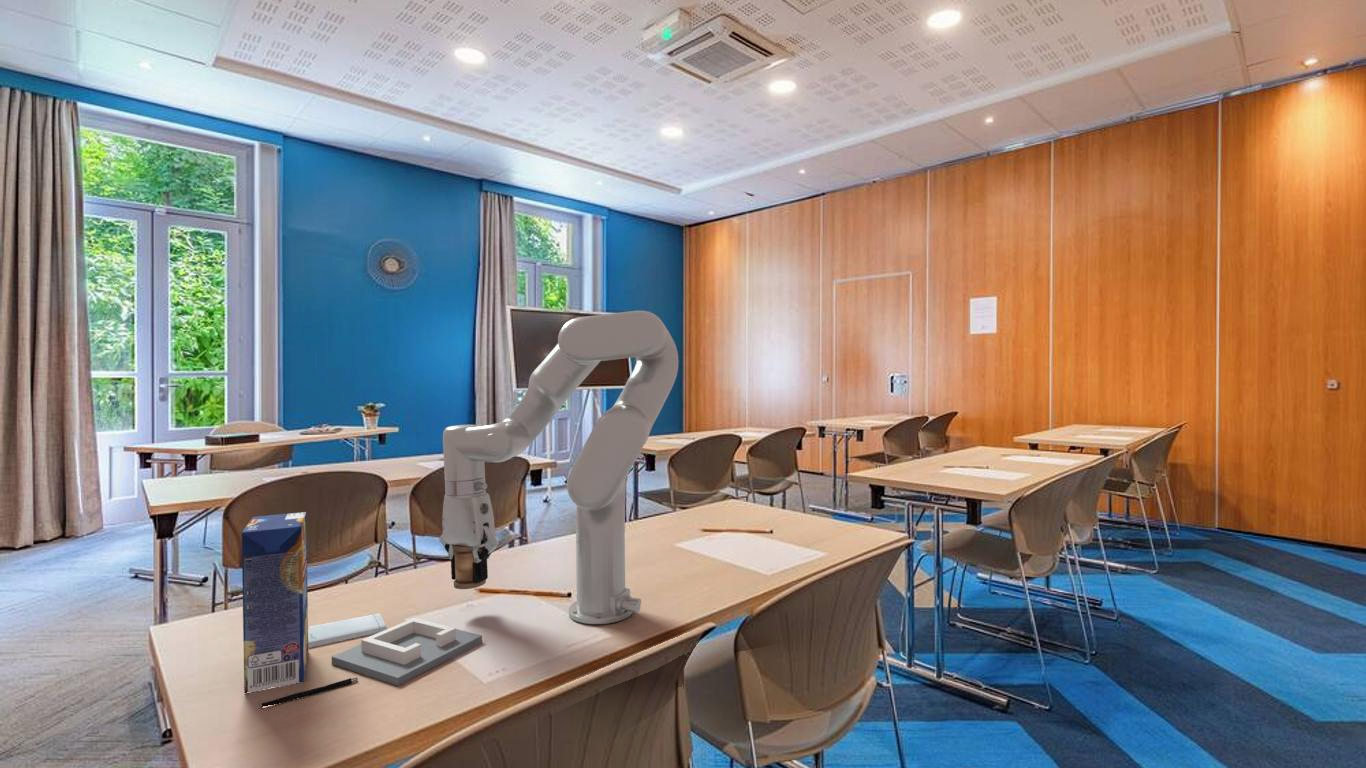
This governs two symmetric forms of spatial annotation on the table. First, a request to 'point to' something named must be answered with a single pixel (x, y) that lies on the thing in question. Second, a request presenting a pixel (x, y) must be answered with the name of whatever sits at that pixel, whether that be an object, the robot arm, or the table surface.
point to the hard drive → (345, 630)
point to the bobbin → (465, 567)
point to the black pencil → (310, 692)
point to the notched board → (406, 650)
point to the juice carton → (275, 601)
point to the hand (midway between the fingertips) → (469, 578)
